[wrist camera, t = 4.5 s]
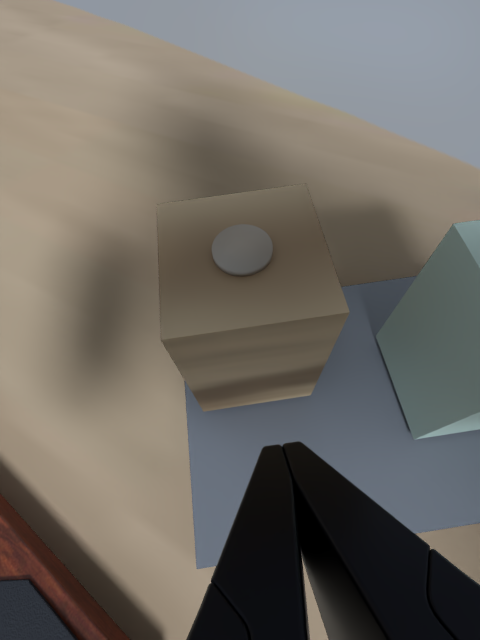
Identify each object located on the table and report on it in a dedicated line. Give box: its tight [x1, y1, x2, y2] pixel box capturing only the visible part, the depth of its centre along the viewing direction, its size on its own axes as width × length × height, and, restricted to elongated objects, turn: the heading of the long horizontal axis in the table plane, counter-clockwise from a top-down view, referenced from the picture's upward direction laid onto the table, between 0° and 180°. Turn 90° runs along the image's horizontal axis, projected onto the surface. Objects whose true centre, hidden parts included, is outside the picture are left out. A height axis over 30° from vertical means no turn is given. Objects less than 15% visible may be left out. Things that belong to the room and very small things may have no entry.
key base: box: [185, 276, 480, 569], centre depth 15 cm, size 10×14×2 cm
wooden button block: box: [157, 184, 350, 412], centre depth 12 cm, size 4×4×7 cm
